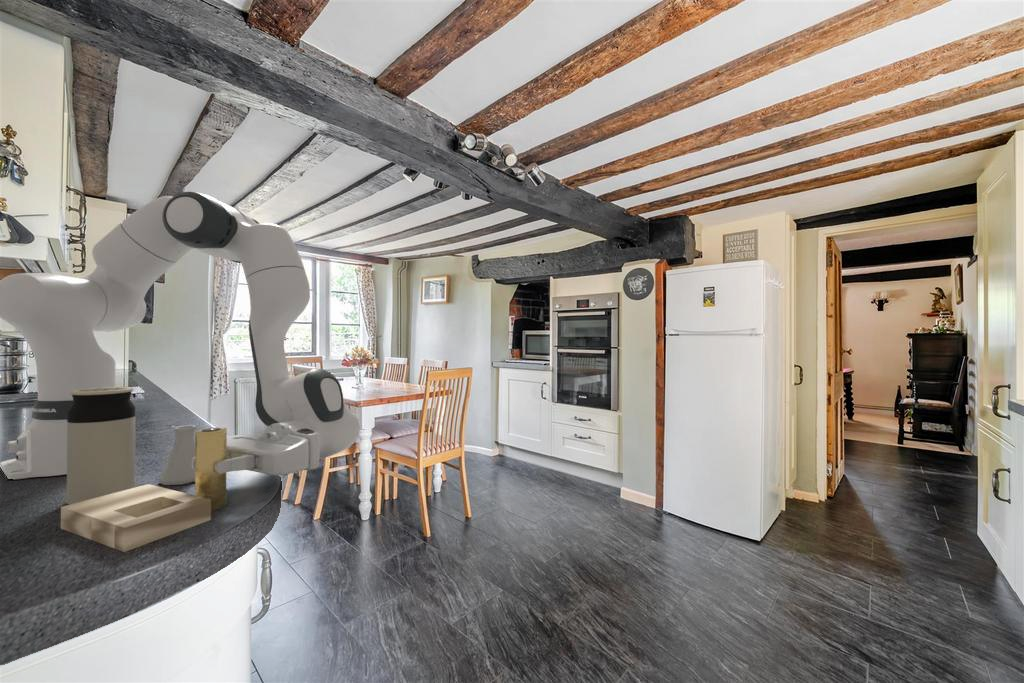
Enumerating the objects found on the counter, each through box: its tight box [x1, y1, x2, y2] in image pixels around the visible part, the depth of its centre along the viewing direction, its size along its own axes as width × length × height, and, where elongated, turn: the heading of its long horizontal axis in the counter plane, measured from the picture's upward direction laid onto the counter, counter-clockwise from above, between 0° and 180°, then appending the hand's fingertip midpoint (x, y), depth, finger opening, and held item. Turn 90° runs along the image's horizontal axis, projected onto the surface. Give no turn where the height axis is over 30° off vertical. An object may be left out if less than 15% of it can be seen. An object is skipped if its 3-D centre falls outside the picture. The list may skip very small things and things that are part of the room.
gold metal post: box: [194, 427, 228, 512], centre depth 64 cm, size 4×4×12 cm
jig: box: [60, 483, 212, 553], centre depth 58 cm, size 16×10×3 cm, turn 67°
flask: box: [157, 424, 197, 486], centre depth 77 cm, size 7×7×10 cm
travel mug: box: [66, 386, 136, 505], centre depth 68 cm, size 8×8×18 cm
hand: (204, 465), depth 64 cm, fingers closed on gold metal post, 4 cm apart
